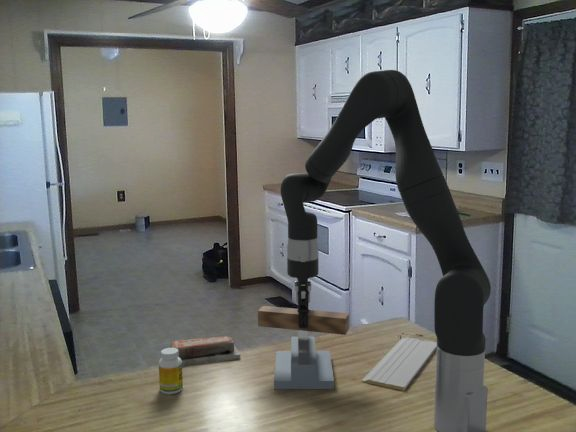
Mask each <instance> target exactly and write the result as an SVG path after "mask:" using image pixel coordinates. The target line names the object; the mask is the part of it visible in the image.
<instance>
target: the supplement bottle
mask: <svg viewBox="0 0 576 432" xmlns="http://www.w3.org/2000/svg"><path fill="white" fill-rule="evenodd" d="M178 356H179V351H178V349H177V348H170V347H167V348H166V347H165V348H163V349H162V350H160V357H161V358H160V359H159V361H158V382H159V385H158V386H159V391H160V392H161V393H162V394H165V395H173V394H177V393H180V392H182V390H183V388H184V385H183V384H184V382H183V380H184V379H183V366H182V360H181V359H180V358H179V357H178Z"/></svg>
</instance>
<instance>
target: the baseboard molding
mask: <svg viewBox="0 0 576 432" xmlns="http://www.w3.org/2000/svg"><path fill="white" fill-rule="evenodd" d="M401 334H402V335H404V332H402V333H401ZM402 335H397V336H398V339H399V341H398V342H396V344H395V345H394V346H393V347H392V348H391V349H390V350H389V351H388V352H387V353H386V354H385V356H384V357H382V358H381V359H380V361H378V363H377V364H376V365H375V366H374V367H373V368H372V369H371V370H370V371H369V372H368V373H367V374H366V375H365V376H364V377H363V378H362V379H361V382H362V383H367V384H371V385H376V386H380V387H384V388H389V389H394V390H398V391H402V392H403V391H405V390H406V388H407V387H408V386H409V384H410V383H411V382H412V381H413V379H415V377H416V375H417V374H418V373H419V372H420V370H421V369H422V367H423V366H425V364H426V362H427V361H428V360H429V359H430V357H431V356H432V354H433V353H434V352H435V350H437V338H436V339H435V338H434V340H436V341H433V340H432V338H429V339H430V340H426V339H425V340H424V339H419V337H423V338H426V337H424V334H417V333H416V334H415V335H414V334H413V335H412V334H411V337H410V336H406V337H405V338H404V337H402ZM406 335H409V334H406ZM415 336H417V337H418V338H415ZM413 337H414V338H413Z"/></svg>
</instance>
